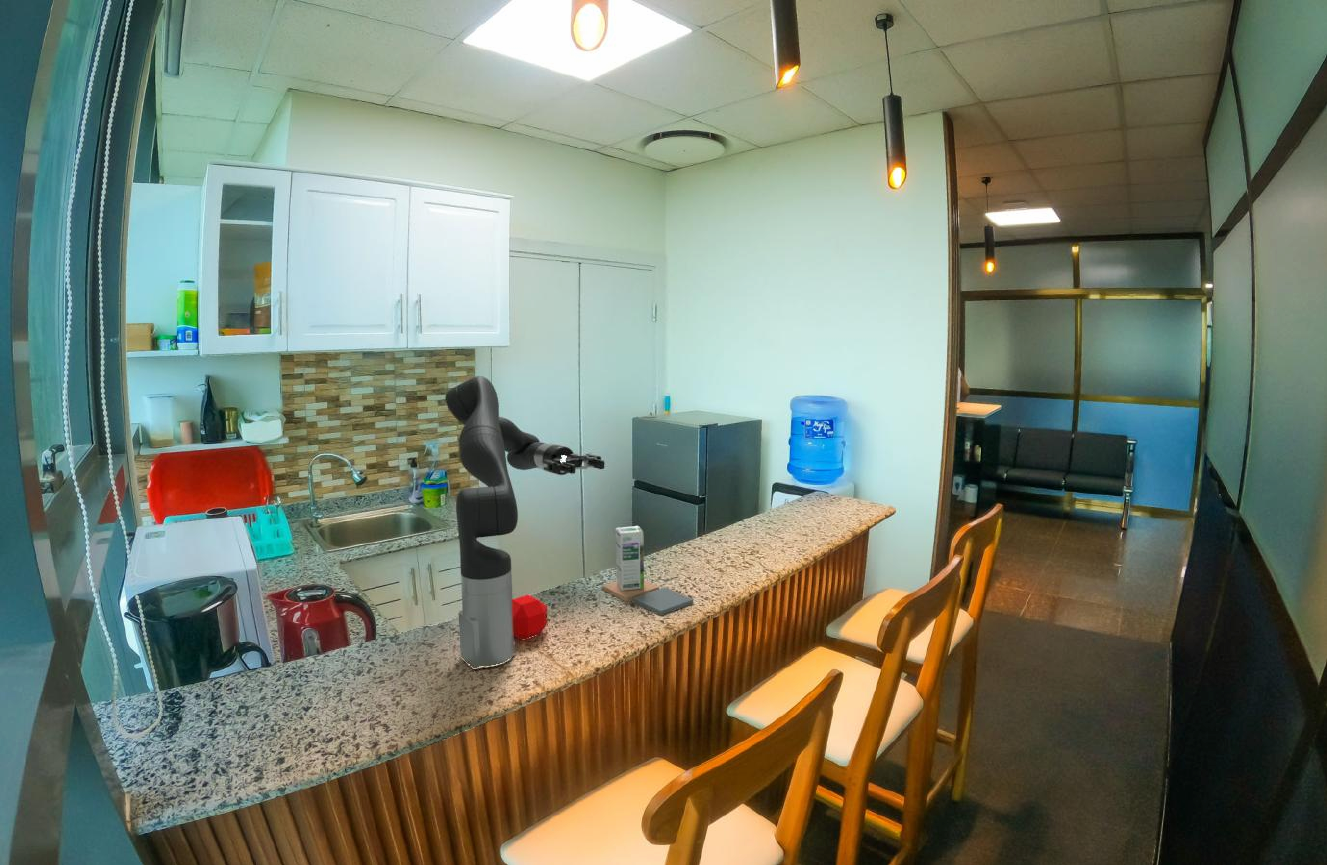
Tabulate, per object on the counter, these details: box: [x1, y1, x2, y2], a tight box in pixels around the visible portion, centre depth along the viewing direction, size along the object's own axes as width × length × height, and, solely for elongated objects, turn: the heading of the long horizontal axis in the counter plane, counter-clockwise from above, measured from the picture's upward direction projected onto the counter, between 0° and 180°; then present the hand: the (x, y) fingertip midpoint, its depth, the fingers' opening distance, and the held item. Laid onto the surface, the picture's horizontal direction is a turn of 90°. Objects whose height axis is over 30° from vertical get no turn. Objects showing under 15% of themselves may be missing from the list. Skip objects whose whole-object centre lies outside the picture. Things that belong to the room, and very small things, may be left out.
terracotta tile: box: [601, 580, 660, 603], centre depth 153 cm, size 10×10×1 cm
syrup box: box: [615, 525, 645, 591], centre depth 152 cm, size 6×6×14 cm
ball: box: [512, 594, 549, 640], centre depth 129 cm, size 8×8×8 cm
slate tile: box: [632, 586, 694, 616], centre depth 145 cm, size 10×10×1 cm
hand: (588, 467), depth 153 cm, fingers open, 8 cm apart
